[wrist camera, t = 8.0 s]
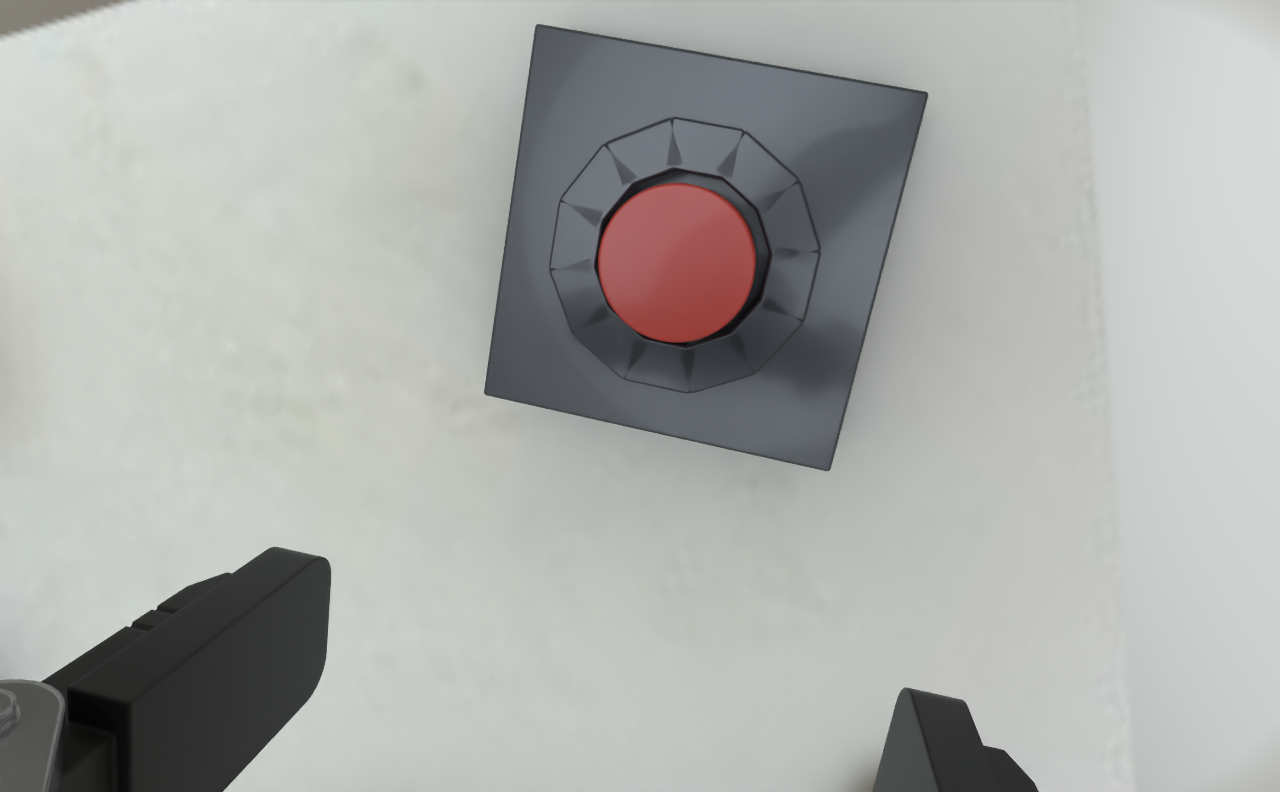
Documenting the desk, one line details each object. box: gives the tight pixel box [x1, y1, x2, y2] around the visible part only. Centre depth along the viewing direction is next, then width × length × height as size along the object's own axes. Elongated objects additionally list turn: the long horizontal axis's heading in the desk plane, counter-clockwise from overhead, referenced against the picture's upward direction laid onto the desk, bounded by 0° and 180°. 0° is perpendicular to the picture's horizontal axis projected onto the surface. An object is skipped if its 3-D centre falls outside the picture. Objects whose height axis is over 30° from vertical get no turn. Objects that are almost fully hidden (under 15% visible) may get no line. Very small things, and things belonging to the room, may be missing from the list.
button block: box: [484, 24, 928, 471], centre depth 22 cm, size 10×10×4 cm
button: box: [598, 183, 756, 342], centre depth 19 cm, size 4×4×2 cm
